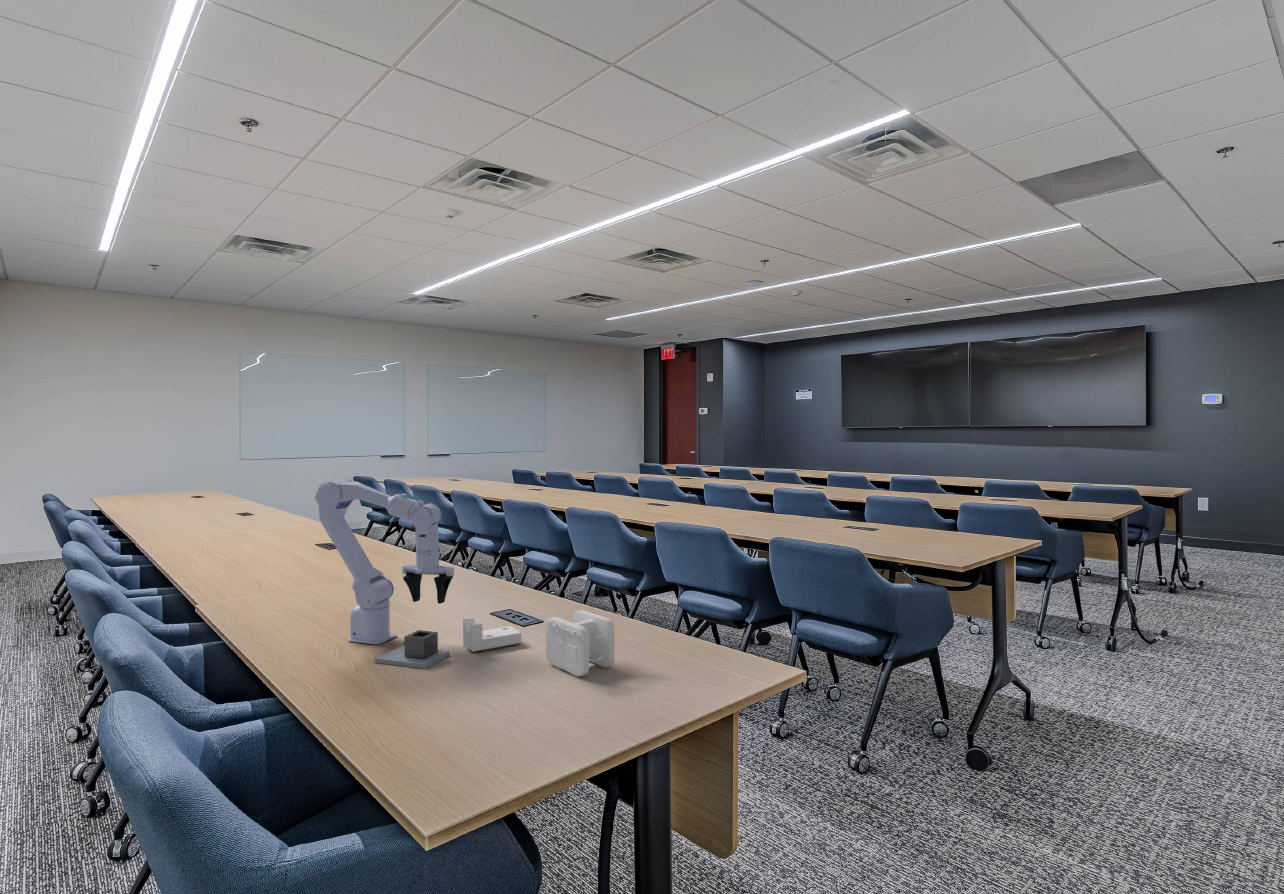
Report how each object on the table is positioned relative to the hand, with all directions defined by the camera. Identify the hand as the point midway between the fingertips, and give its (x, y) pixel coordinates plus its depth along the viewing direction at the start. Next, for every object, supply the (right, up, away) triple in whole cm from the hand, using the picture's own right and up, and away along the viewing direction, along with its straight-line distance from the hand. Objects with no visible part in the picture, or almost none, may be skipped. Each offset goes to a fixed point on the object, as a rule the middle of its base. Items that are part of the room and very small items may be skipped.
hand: (428, 601), depth 178 cm
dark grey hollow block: (+2, -10, -14) cm, 17 cm away
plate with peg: (0, -11, -14) cm, 17 cm away
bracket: (+18, -11, -4) cm, 21 cm away
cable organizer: (+42, -11, -19) cm, 47 cm away
